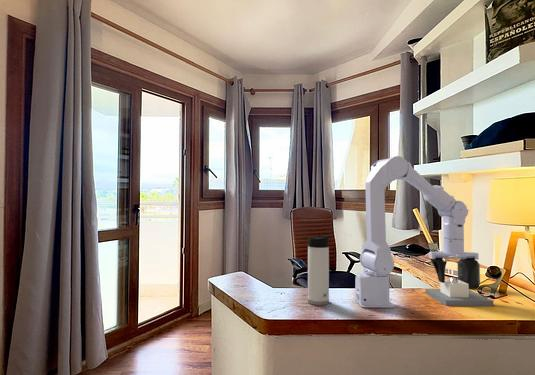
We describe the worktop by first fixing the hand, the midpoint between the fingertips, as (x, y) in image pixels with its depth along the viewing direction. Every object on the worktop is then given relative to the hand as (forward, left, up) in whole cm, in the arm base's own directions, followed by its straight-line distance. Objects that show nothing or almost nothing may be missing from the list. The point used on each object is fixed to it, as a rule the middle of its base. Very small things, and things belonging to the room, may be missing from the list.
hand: (453, 282), depth 99 cm
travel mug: (-43, -4, -6) cm, 43 cm away
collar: (0, 0, -4) cm, 4 cm away
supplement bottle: (+14, +15, -6) cm, 21 cm away
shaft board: (+1, 0, -5) cm, 5 cm away
